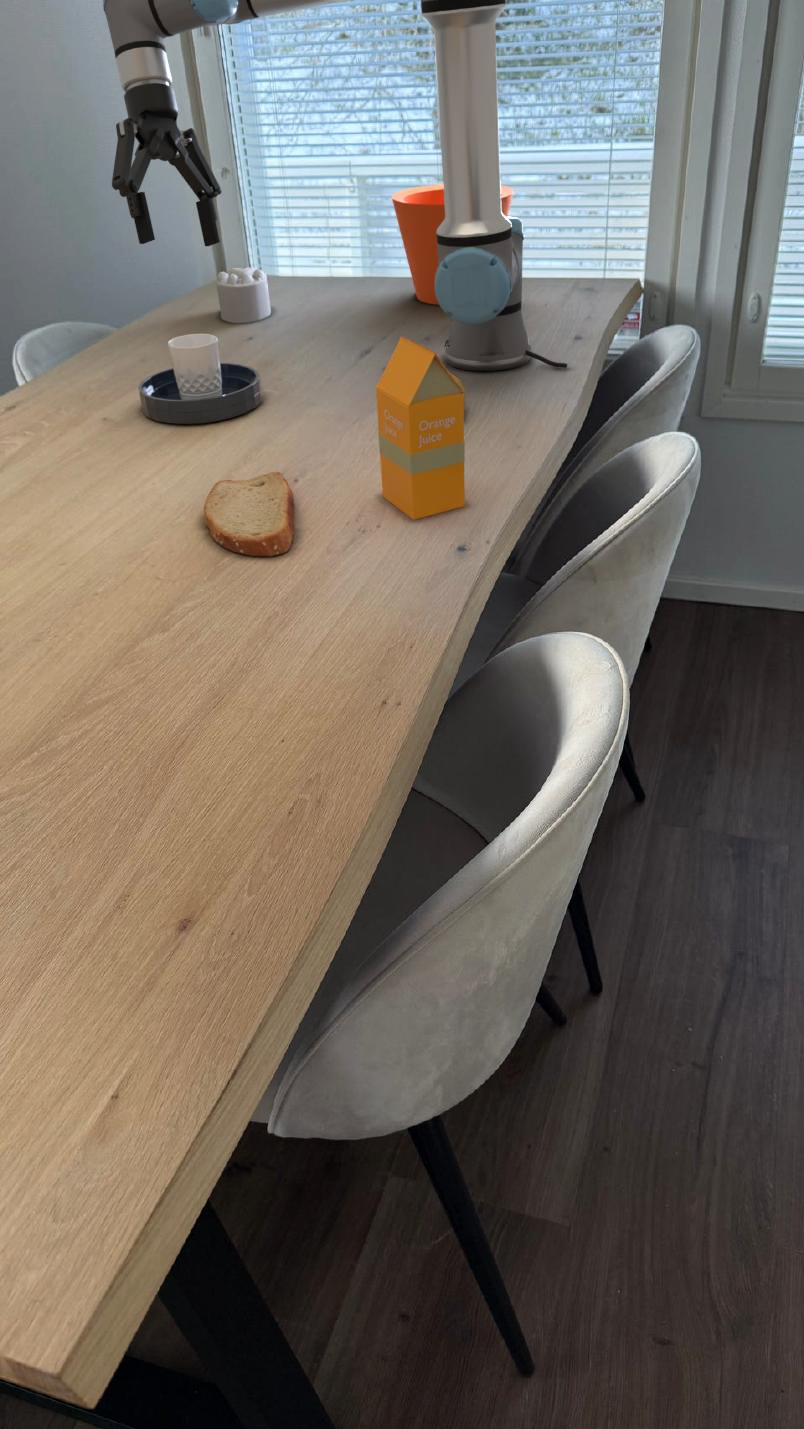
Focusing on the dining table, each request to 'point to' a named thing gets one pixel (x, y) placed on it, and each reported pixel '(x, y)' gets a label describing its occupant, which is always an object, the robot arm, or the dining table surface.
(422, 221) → the flowerpot
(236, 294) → the lumpy-topped squat cylinder
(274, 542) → the slice of bread
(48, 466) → the dining table surface
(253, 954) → the dining table surface
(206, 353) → the white cup
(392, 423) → the orange juice
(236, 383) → the plate
